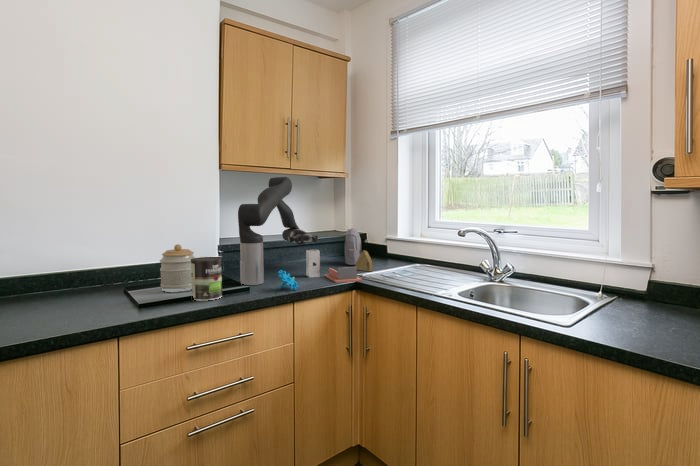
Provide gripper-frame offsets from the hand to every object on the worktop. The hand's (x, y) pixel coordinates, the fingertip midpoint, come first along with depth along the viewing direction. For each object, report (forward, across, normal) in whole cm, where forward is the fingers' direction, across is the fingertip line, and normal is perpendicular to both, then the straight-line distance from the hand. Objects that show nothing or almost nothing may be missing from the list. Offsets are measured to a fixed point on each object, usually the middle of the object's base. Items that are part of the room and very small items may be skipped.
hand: (306, 240), depth 184 cm
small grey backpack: (-12, +30, +16) cm, 36 cm away
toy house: (+6, +28, +16) cm, 33 cm away
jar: (+19, -56, +15) cm, 61 cm away
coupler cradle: (+22, +11, +15) cm, 29 cm away
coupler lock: (+12, 0, +16) cm, 19 cm away
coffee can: (+37, -46, +15) cm, 61 cm away
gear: (+33, -16, +15) cm, 40 cm away
